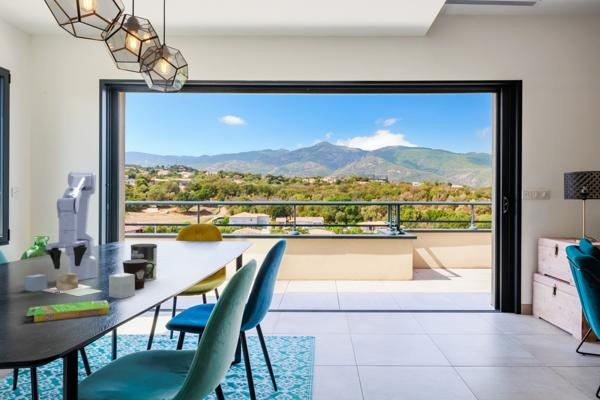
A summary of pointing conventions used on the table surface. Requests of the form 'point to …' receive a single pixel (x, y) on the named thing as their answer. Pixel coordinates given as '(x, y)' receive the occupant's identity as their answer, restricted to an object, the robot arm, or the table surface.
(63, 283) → the block
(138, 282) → the coffee mug
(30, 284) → the cube
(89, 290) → the mat
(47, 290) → the letter
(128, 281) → the skincare box
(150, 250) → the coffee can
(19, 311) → the table surface
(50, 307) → the game box
